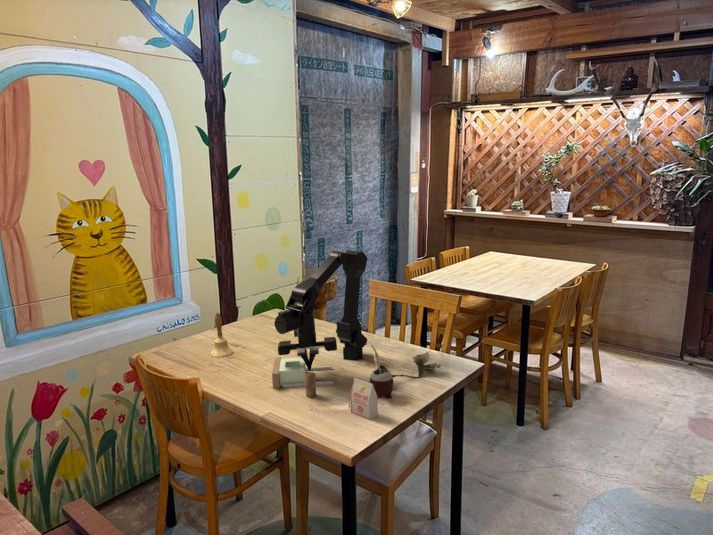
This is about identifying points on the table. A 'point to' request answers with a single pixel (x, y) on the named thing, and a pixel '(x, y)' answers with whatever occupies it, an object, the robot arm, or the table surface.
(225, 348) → the hand bell
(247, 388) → the table surface
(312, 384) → the walnut peg
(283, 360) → the sliding block
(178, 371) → the table surface
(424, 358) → the artificial flower
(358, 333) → the robot arm
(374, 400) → the tea bag
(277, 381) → the guide board
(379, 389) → the mate gourd
